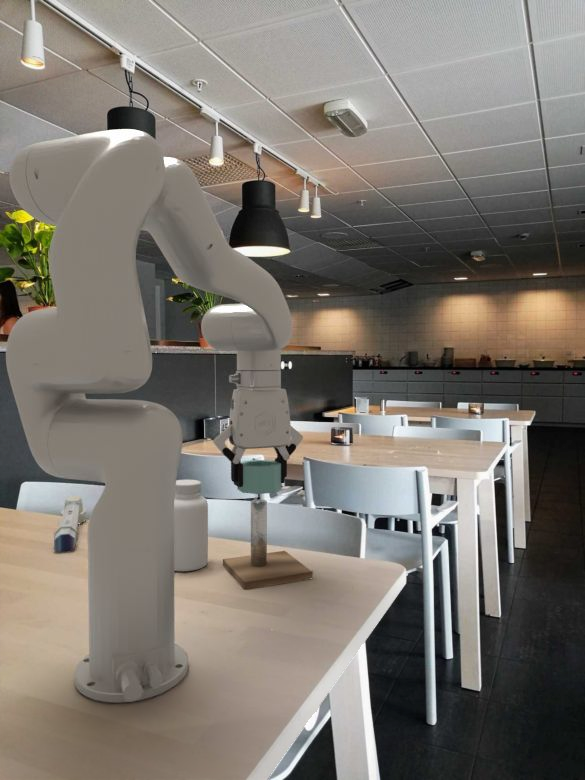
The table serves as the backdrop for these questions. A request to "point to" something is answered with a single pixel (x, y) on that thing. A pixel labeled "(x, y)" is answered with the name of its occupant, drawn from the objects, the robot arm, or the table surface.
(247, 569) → the board
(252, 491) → the ring
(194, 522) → the pill bottle
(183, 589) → the table surface
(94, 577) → the robot arm
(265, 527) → the grey metal peg
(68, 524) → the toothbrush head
